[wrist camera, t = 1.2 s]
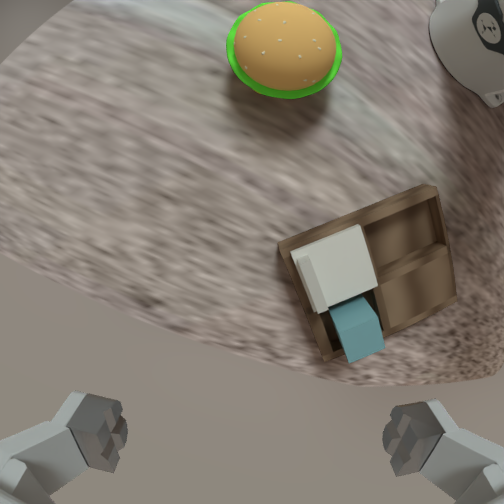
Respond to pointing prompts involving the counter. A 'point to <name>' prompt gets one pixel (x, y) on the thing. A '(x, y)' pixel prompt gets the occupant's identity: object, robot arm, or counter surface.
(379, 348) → the block
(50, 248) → the counter surface
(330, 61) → the hamburger
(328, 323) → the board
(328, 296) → the cover
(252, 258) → the counter surface
